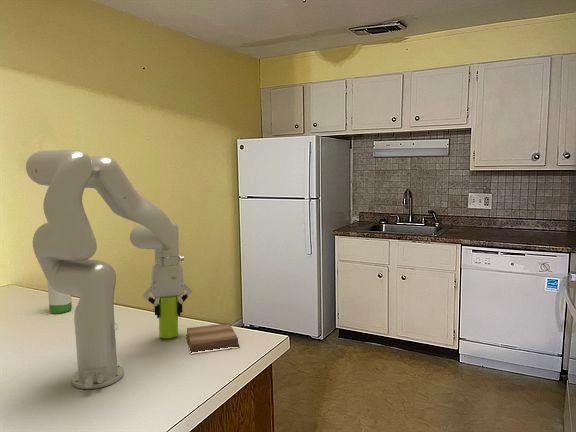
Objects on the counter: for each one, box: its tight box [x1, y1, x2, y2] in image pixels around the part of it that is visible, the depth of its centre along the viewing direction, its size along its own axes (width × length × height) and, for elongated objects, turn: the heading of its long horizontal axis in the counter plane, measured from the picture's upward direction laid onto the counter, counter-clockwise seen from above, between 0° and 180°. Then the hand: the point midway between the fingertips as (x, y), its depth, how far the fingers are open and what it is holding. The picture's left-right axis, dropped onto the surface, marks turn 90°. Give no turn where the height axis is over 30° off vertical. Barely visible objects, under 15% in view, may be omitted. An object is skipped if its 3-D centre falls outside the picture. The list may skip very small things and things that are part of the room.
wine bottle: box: [46, 280, 73, 315], centre depth 172 cm, size 8×8×30 cm
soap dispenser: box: [158, 277, 179, 339], centre depth 144 cm, size 6×7×20 cm
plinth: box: [185, 322, 240, 354], centre depth 141 cm, size 15×15×3 cm
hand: (168, 315), depth 144 cm, fingers closed on soap dispenser, 5 cm apart
